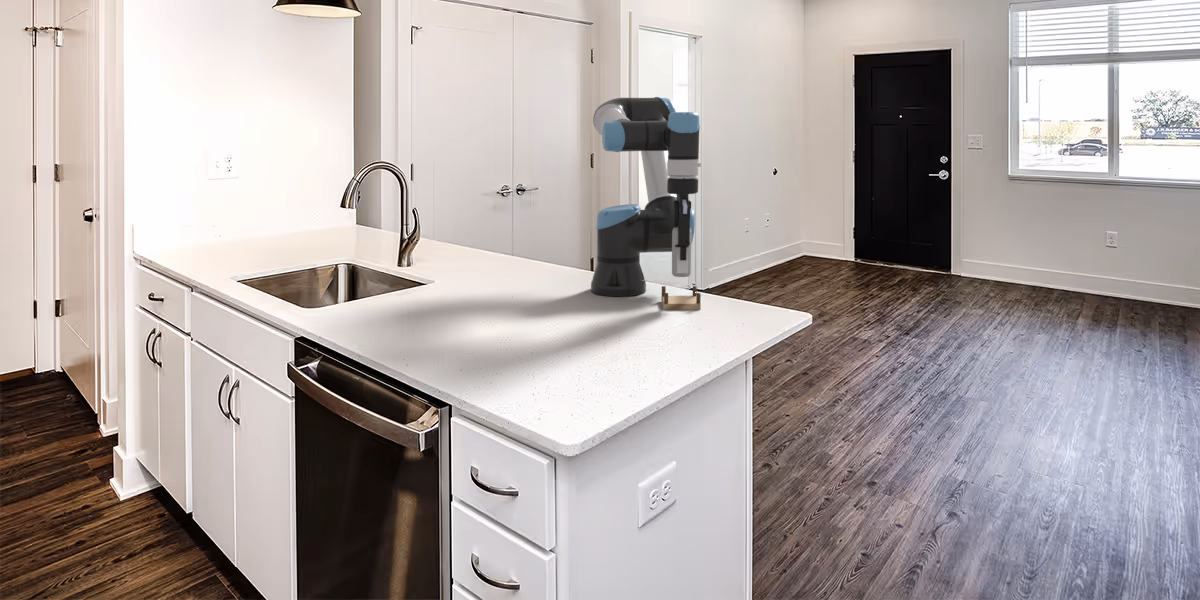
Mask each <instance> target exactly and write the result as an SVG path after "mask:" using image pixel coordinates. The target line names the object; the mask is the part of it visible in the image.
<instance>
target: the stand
mask: <svg viewBox="0 0 1200 600" xmlns="http://www.w3.org/2000/svg"><path fill="white" fill-rule="evenodd" d="M666 287H667V286H665V285H663V286H661V297H660V299H661V300H660V301H661V304H662V307H663V310H666V311H667V310H670V311H671V310H672V311H673V310H674V311H675V310H676V311H677V310H681V311H682V310H686V311H688V310H689V311H691V310H701V295H702V294H701V292H697V291H698V290H697V289H698V287H697V286H696V285H693V286H692V295H669V293H668V292H666V290H667V289H666ZM695 292H696V293H695Z"/></svg>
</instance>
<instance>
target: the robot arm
mask: <svg viewBox="0 0 1200 600" xmlns="http://www.w3.org/2000/svg"><path fill="white" fill-rule="evenodd" d="M592 119H593V120H592V121H593V122H592V123H593V126H594V129H595V130H596V131H597V132H598V134H600V136H601V137H602V143H601V144H602V148H603V150H604V151H606V152H613V153H620V152H641V160H642V161H641V162H642V168H643V173H644V180H645V188H646V195H647V201H648V202H647V203H646V205H645V206H644V209H642V207H641V206H640V205H639V204H636V203H633V204H632V203H631V204H619V205H614V206H610V207H605V208H602V209H601V210H599V211H598V213H597V215H596V216H597V219H596V226H595V229H596V233H597V234H596V238H597V240H596V255H597V256H596V267H595V269H594V273H593V274H592V279H591V282H590V292H591V293H594V294H596V295H599V296H605V297H606V296H607V297H608V296H609V297H628V296H630V297H631V296H636V295H641V294H643V293H646V291H647V282H646V280H645V276H644V272H643V270H642V267H641V263H640V259H641V256H640V255H641V253H672V230H673V228H674V227H678V245H675V247H677V273H688V248H689V247H688V246H689V245H690V242H689V241H690V228H691V231H692V238H691V246H692V244H693V240H694V236H695V235H694V234H695V225H696V224H695V223H696V222H695V221H696V217H695V216H696V215H695V214H696V213H695V211H694V209H693V208H692V201H691V200H689V195H694V194H695V195H696V194H697V193H698V192H699V179H698V177H697V176H699V168H701V162H699V154H700V129H701V125H700V114H699V113H697V112H696V111H676V107H675V105H674V103H673V101H672V100H671V99H670V98H667V97H659V96H655V97H616V98H612V99H609V100H607V101H605V102H603V103H602V104H600V105H598V107H597V109H596V110H595V111H594V114H593V118H592Z"/></svg>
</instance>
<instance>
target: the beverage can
mask: <svg viewBox="0 0 1200 600" xmlns="http://www.w3.org/2000/svg"><path fill="white" fill-rule="evenodd" d="M691 238H692V231H691V228H690V241H689V242H690V245H689V246H688V247H689V248H688V273H677V247H675V245H678V227H674V228H673V230H672V252H671V274H672V276H673V277H677V278H688V277H690V276H691V273H692V245H691Z"/></svg>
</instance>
